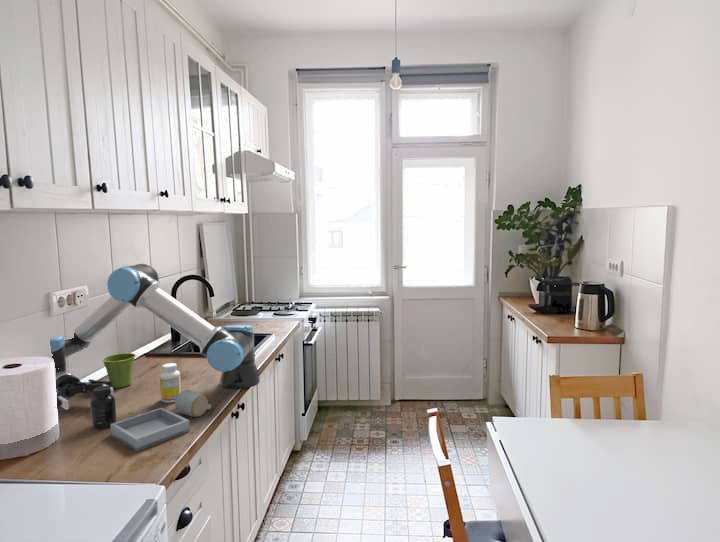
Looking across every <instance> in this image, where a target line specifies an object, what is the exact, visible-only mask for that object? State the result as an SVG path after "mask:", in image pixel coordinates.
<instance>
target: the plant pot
mask: <svg viewBox="0 0 720 542" xmlns="http://www.w3.org/2000/svg"><path fill="white" fill-rule="evenodd" d="M136 357H137V354H136V353H133V352H123V353H122V352H121V353H116V354H112V355H111V354H110V355H106V356H104V357H102V358H101V361H102V362H103V364H104V367H105V369H106V373H107V374H106V375H107V376H108V379H109V381H110V382H112V388H113V389H119V388H120V387H122V388H125V386H126V387H127V386H130V385H132V381H133V373H134V363H135V358H136ZM120 389H121V388H120Z"/></svg>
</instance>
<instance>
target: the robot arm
mask: <svg viewBox="0 0 720 542" xmlns="http://www.w3.org/2000/svg"><path fill="white" fill-rule="evenodd" d="M159 280H160V279H159V274H158V272H157V271H156V269H155V268H154V267H152V266H151V265H149V264H145V263H138V264H133V265H127V266H126V265H125V266H121V267H119V268H116V269H114V270H113V271H112V272H111V273H110V275H108V278H107V282H106V285H107V291H108V293H109V295H110V297H109V298H107V299H106V301H105V302H103V303H102V304H101V305H99V307H98V308H96V309H95V311H94V312H92V313H91V314H90V315H88V317H87V318H85V319H84V320H83V321H82V322H81V323H80V324H79V325H78V326H76V328H75V329H76V330H75V329H74V330H75V333H74V338H72V339H68V340H64V337H65V336H64V335H62V334H59V335H60V336H57V337H55V338H52V339H50V346H51V353H52V354H53V356H52V358H53V359H54V362H55V368H56V389H57V390H56V392H57V407H61V408H63V409H64V410H66V411H68V410H69V409H70V408H69V405H70V404H69V400H68V398H72V397H74V396H76V394H77V395H79V394H86V393H88V392H93V389H95V388H97V387H100V386H110V387H111V394H112V395H114V394H115V393H114V387H112V382H110V381H107V380H98V379H97V380H96V379H95V380H94V379H92V378H91V379H88V381H85V382H84V381H81V380H80V378H78V377H77V376H75V375H73V374H71V373H69V372H67V358H69V357H70V355H71V356H72V354H73V355H75V354H77V353H76V352H78V353H79V351H80V352H82V351H81V350H83V349H84V348H86V349H87V348H88V347H89V346H90V345H91V343H92V342H93V341H94V339H96V338H97V337H98V336H99V335H100V334H101V333H102V332H103V331H105V329H107V328H108V327H110V326H111V324H113V322H115V321H116V320H117V319H118V318H119V317H121V316H122V315H123V314H124V313H125V312H127V310H128V309H129V308H131V307H135V308H137V309H145V310H147V311H148V312H150V313H151V314H152V315H154V316H156V317H157V318H158V319H159V320H161V321H162V322H164V323H165V324H167V325H168V326H170V327H171V328H172V329H174V330H175V332H176V331H177V332H178V333H179V334H181V335H182V336H183V337H185V338H187V339H188V340H189V341H190V342H192V343H194V345H196V346H198V347H199V351H200V354H201V355H203V356H204V357H206V360H207V363H208V364H209V366H210V367H211V368H212V369H214V370H215V371H218V372H221V375H220V378H219V385H220V387H221V388H223V389H226V390H243V389H249V388H253V387H255V386H257V385H259V383H260V380H261V379H260V378H261V377H260V373H259V370H258V368H257V366H256V363H255V332H254V327H253V326H252V325H251V324H233V325H232V324H230V325H225V326H214V325H212V324H211V323H210V322H208V321H207V320H206V319H204V318H203V317H201V316H200V315H198V314H197V313H196V312H194V311H193V310H191V309H190V308H189V307H187V306H186V305H184V304H183V303H181V302H180V301H179V300H178V299H176V298H175V297H173V296H171V294H170V293H167V292H166V291H165V290H163V289H162V288H161V285H160V284H161V283H160V282H159ZM84 350H85V349H84ZM84 350H83V351H84ZM74 353H75V354H74ZM68 356H69V357H68ZM58 368H59V369H58ZM114 396H115V395H114ZM57 407H56V408H57Z"/></svg>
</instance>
